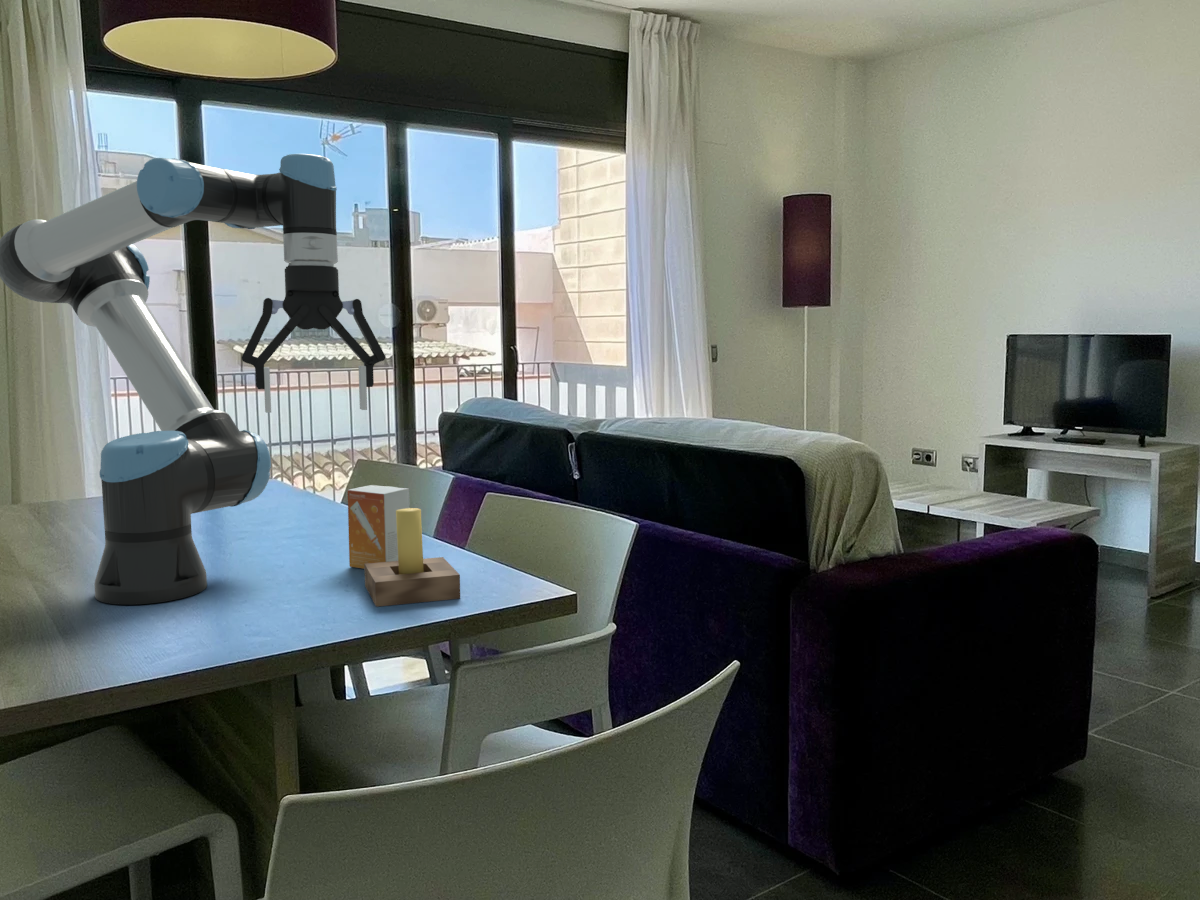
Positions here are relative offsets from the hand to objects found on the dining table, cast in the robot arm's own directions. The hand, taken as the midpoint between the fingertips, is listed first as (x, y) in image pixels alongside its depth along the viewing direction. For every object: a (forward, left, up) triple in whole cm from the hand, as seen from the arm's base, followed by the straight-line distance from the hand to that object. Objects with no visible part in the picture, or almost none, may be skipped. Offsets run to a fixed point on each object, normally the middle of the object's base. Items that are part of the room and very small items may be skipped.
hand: (316, 410), depth 144 cm
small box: (+10, +10, -27) cm, 30 cm away
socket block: (+12, -8, -27) cm, 30 cm away
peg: (+12, -8, -26) cm, 30 cm away
